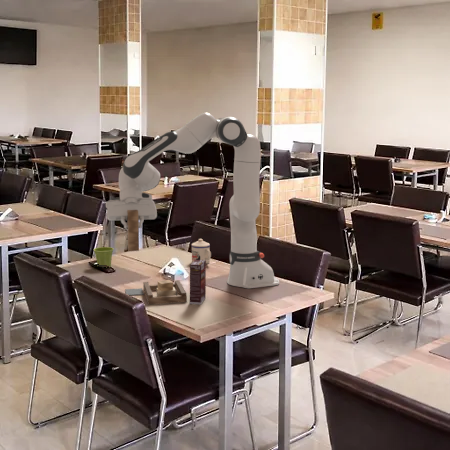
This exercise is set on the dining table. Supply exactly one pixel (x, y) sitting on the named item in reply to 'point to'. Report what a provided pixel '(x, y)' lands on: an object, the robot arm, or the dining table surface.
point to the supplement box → (197, 282)
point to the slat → (133, 230)
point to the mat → (134, 291)
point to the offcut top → (165, 285)
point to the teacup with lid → (201, 251)
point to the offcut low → (166, 292)
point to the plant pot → (104, 255)
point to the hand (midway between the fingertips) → (133, 227)
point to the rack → (165, 299)
